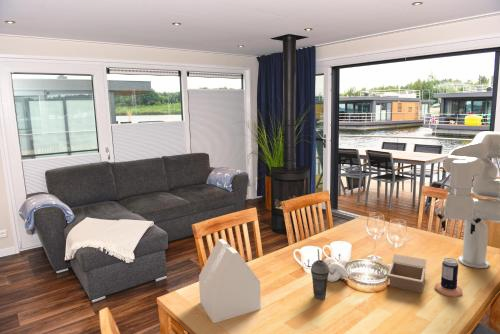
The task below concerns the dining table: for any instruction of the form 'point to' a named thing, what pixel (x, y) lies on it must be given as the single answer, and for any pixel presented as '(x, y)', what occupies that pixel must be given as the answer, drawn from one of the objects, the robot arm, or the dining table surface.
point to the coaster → (451, 293)
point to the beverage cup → (319, 278)
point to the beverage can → (449, 274)
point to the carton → (407, 272)
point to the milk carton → (228, 284)
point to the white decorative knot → (336, 269)
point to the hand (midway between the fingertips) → (457, 231)
